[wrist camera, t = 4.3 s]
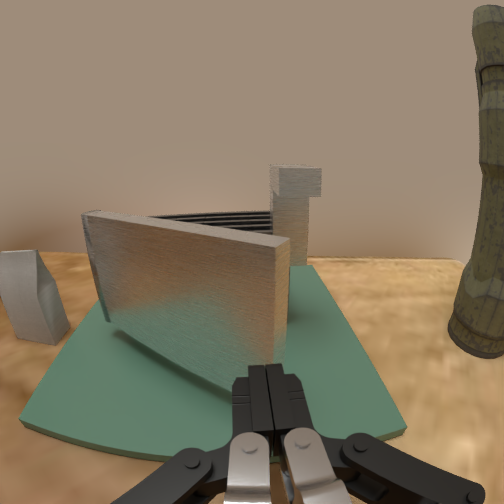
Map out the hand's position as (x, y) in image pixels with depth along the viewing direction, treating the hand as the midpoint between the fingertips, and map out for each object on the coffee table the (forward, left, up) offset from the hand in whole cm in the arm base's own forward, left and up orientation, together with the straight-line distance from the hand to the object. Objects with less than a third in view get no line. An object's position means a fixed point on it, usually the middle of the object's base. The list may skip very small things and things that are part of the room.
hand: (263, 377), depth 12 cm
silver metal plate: (-9, +3, -4) cm, 10 cm away
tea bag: (-27, -2, -8) cm, 28 cm away
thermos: (+18, +18, -8) cm, 27 cm away
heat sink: (-10, +9, -7) cm, 16 cm away
